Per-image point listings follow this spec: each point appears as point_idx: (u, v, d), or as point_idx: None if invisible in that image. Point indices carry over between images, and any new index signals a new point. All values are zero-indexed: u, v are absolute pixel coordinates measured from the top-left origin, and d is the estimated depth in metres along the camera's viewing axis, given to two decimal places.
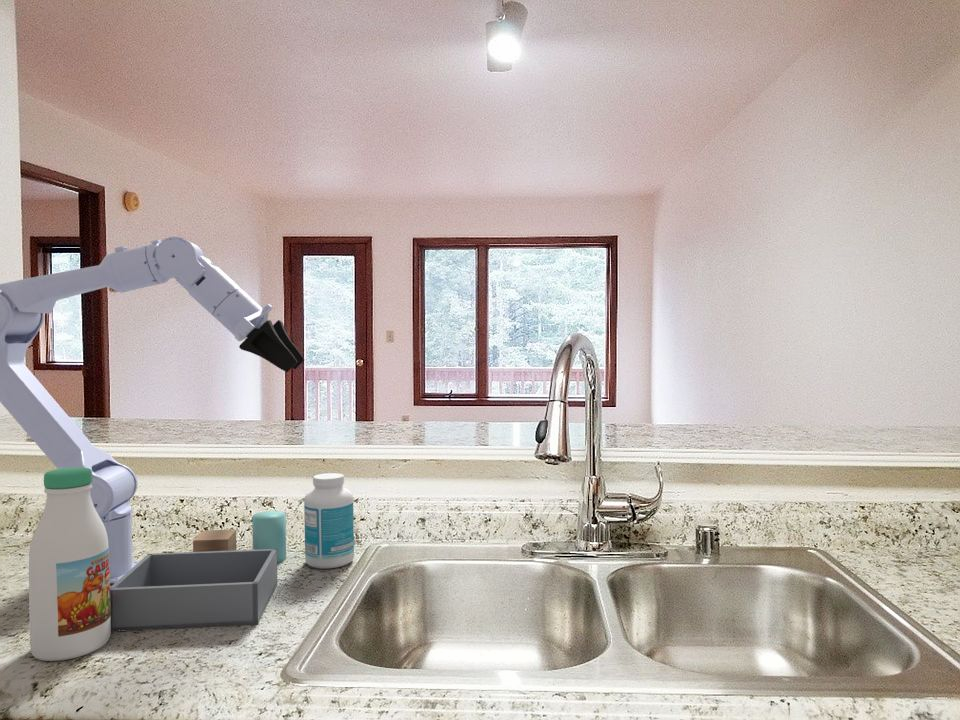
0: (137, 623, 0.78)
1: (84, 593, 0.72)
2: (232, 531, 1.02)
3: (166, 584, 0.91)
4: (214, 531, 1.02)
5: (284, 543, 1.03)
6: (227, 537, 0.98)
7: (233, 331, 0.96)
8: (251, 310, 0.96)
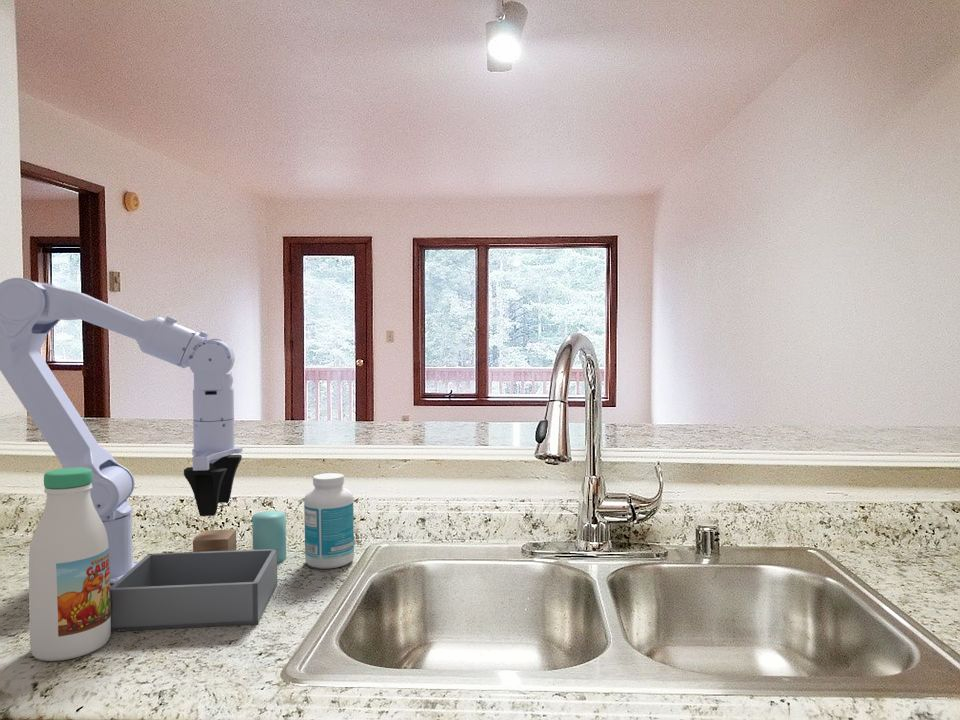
0: (137, 623, 0.78)
1: (84, 593, 0.72)
2: (232, 531, 1.02)
3: (166, 584, 0.91)
4: (214, 531, 1.02)
5: (284, 543, 1.03)
6: (227, 537, 0.98)
7: (195, 446, 0.98)
8: (222, 445, 0.98)
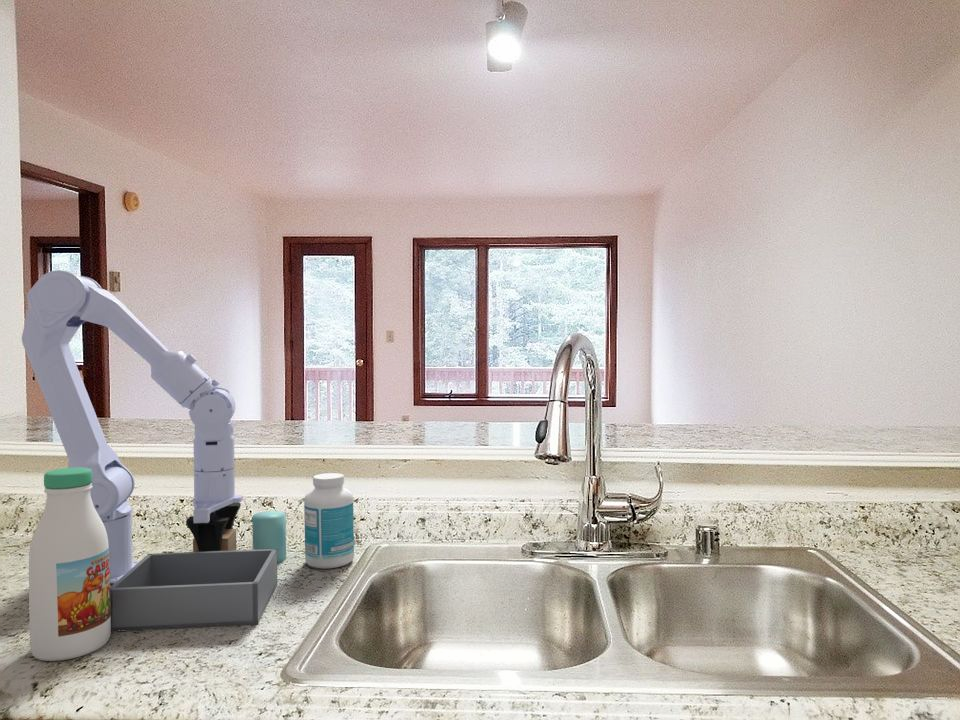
0: (137, 623, 0.78)
1: (84, 593, 0.72)
2: (232, 530, 1.02)
3: (166, 584, 0.91)
4: None
5: (284, 543, 1.03)
6: (227, 537, 0.99)
7: (195, 496, 0.98)
8: (223, 495, 0.98)
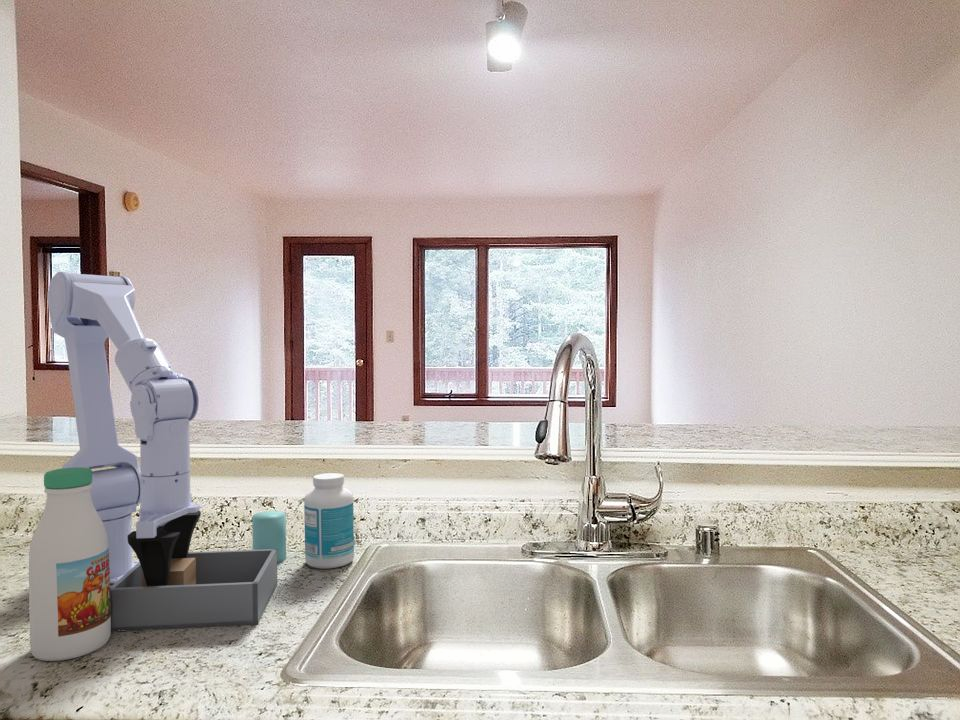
0: (137, 623, 0.78)
1: (84, 593, 0.72)
2: (190, 560, 0.87)
3: None
4: None
5: (284, 543, 1.03)
6: (182, 568, 0.83)
7: (142, 506, 0.83)
8: (175, 504, 0.83)
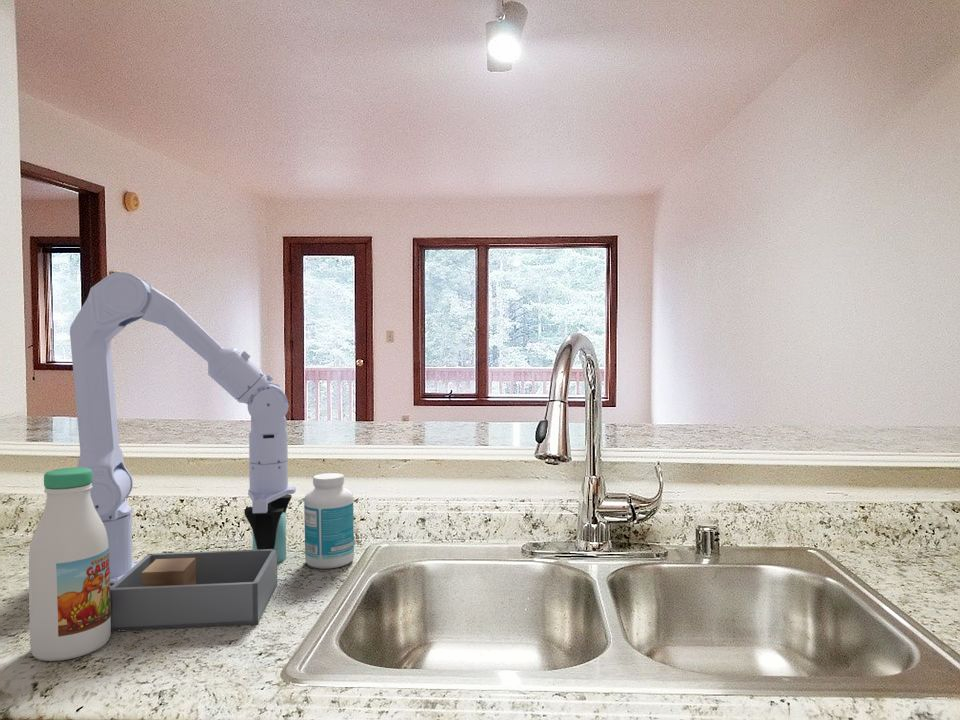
0: (137, 623, 0.78)
1: (84, 593, 0.72)
2: (190, 560, 0.87)
3: None
4: (169, 560, 0.87)
5: (284, 543, 1.03)
6: (182, 568, 0.83)
7: (251, 488, 1.01)
8: (278, 486, 1.01)
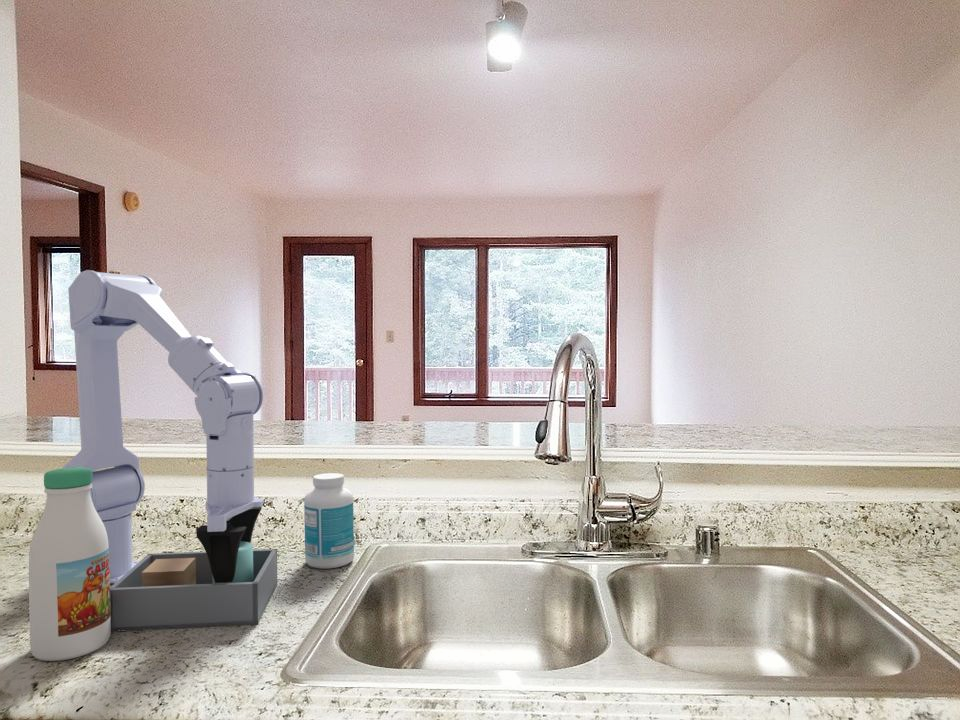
0: (137, 623, 0.78)
1: (84, 593, 0.72)
2: (190, 560, 0.87)
3: None
4: (169, 560, 0.87)
5: (251, 581, 0.86)
6: (182, 568, 0.83)
7: (208, 500, 0.84)
8: (241, 498, 0.84)
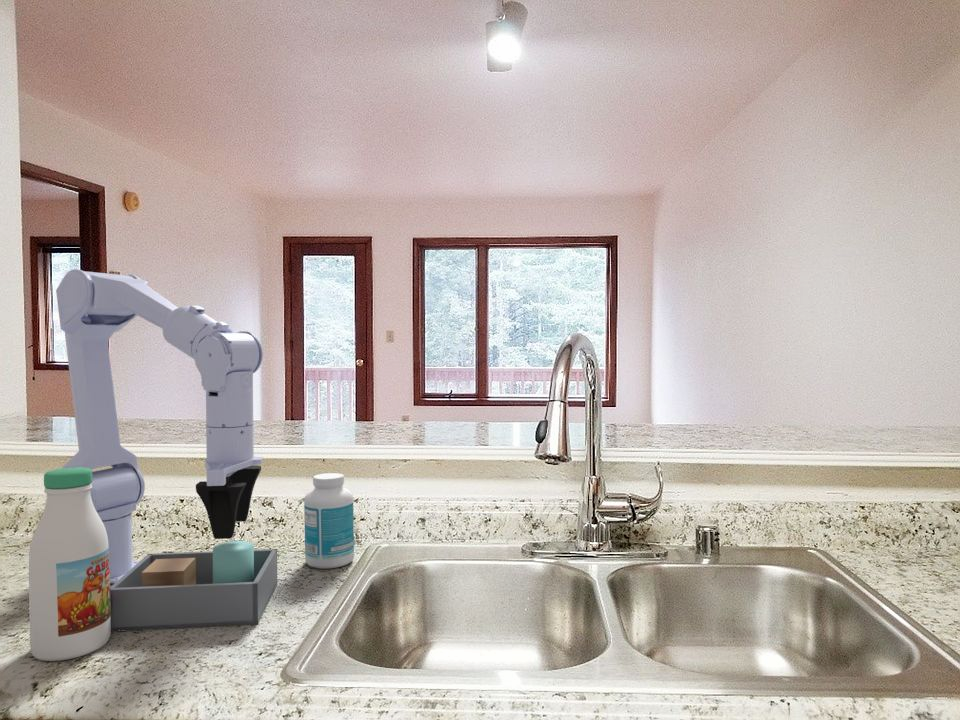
0: (137, 623, 0.78)
1: (84, 593, 0.72)
2: (190, 560, 0.87)
3: None
4: (169, 560, 0.87)
5: (251, 581, 0.86)
6: (182, 568, 0.83)
7: (208, 457, 0.83)
8: (241, 455, 0.83)
